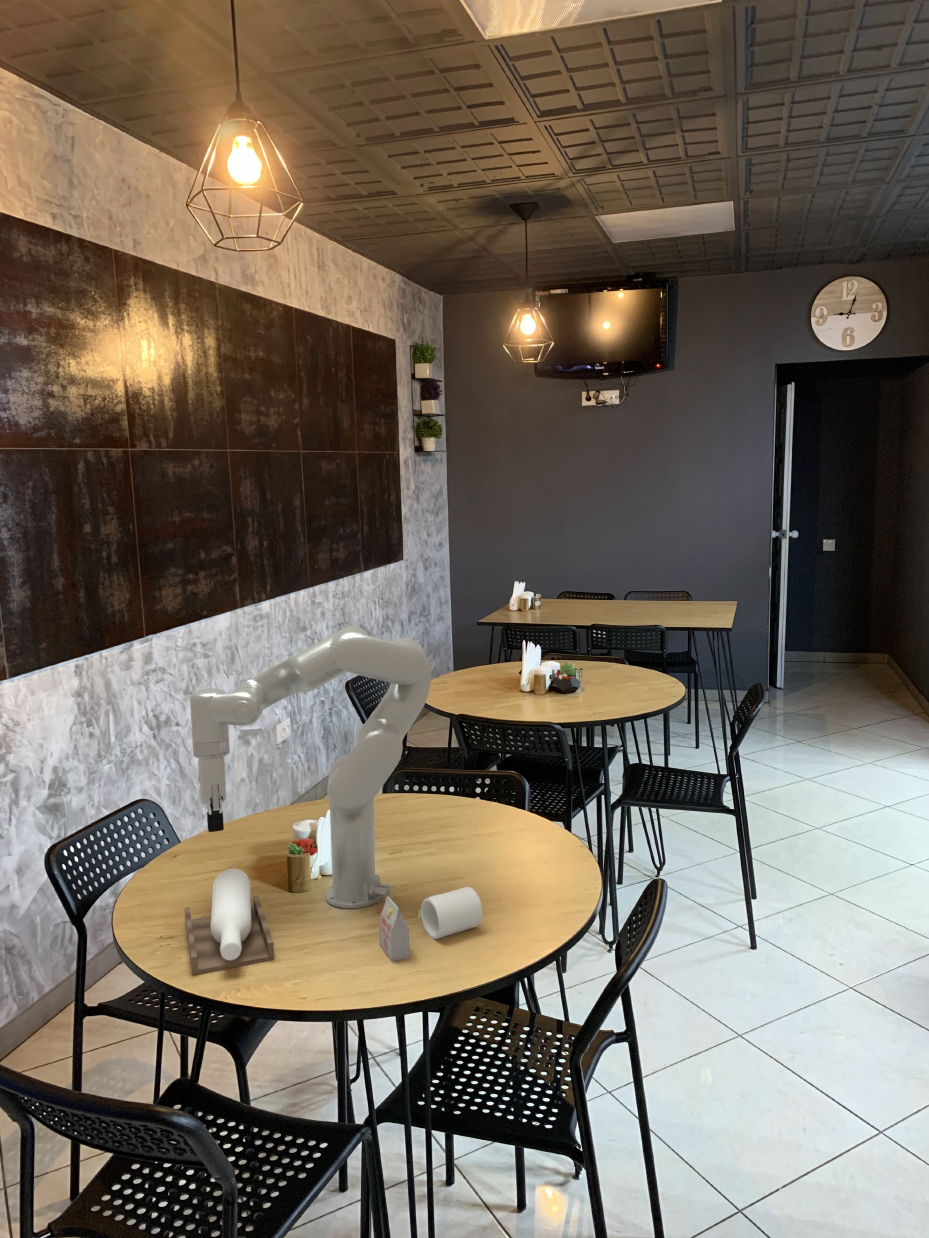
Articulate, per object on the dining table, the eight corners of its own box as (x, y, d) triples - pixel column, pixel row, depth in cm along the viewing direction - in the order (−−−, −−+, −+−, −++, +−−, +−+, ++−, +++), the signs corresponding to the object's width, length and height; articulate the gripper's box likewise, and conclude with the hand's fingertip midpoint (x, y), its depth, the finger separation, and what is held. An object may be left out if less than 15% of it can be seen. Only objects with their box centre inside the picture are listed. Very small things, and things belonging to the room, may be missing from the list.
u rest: (185, 923, 183) (184, 907, 183) (258, 911, 188) (257, 895, 188) (192, 975, 163) (191, 957, 162) (274, 959, 168) (273, 942, 168)
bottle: (256, 890, 192) (260, 957, 163) (224, 909, 191) (222, 980, 162) (238, 860, 190) (239, 922, 162) (205, 879, 189) (200, 945, 160)
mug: (483, 932, 178) (482, 894, 177) (440, 945, 172) (439, 907, 171) (452, 909, 188) (452, 874, 187) (411, 922, 182) (410, 885, 182)
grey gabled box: (397, 941, 174) (396, 893, 173) (409, 957, 168) (408, 907, 167) (379, 945, 173) (378, 897, 171) (391, 961, 167) (390, 911, 165)
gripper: (190, 740, 193) (195, 821, 195) (195, 758, 179) (200, 844, 181) (225, 737, 195) (230, 816, 198) (233, 754, 181) (237, 839, 184)
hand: (215, 830), depth 189 cm, fingers closed
